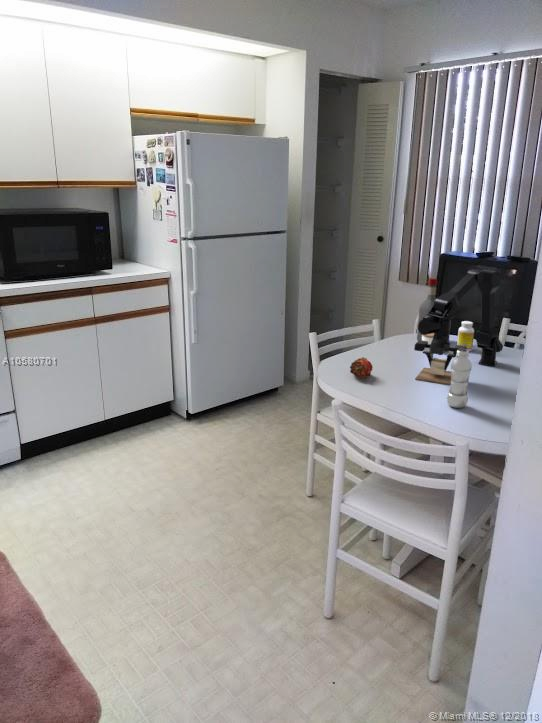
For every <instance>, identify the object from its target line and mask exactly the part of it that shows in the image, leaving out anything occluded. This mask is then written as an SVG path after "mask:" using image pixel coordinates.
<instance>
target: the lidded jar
mask: <svg viewBox="0 0 542 723" xmlns="http://www.w3.org/2000/svg"><path fill="white" fill-rule="evenodd" d="M433 336H434V333H432V334H427V335H422V341H428V344H431V342H432V340H433Z"/></svg>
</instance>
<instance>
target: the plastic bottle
mask: <svg viewBox="0 0 542 723" xmlns="http://www.w3.org/2000/svg"><path fill="white" fill-rule="evenodd" d="M469 356H470V351H468V350H466V349H458V350H457V354H456V357H455V358H454V360H452V362H451V364H450V371H451V385H449V392H448V395H447V397H446V399H447V401H446V402H447V404H448V406H450V407H452V408H455V409H462V408H465V407H466V406H467V404H468V401H469V397H468V388H469V387H468V386H469V385H468V384H469V381H470V380H469V378H470V374H471V371H472V366H473V365H472V363H471V361H470V359H469Z"/></svg>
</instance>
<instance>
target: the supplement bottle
mask: <svg viewBox="0 0 542 723" xmlns="http://www.w3.org/2000/svg"><path fill="white" fill-rule="evenodd" d="M473 325H474V322H472V321H469V320H464V321H463V320H462V321H461V326H460V327H459V328H458V330H457V331H458V332H457V341H456V345H461V346H466V347H467V350H468V351H469V352H471V351H472V350H473V346H474V335H475V328H473Z"/></svg>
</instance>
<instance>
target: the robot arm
mask: <svg viewBox="0 0 542 723" xmlns="http://www.w3.org/2000/svg"><path fill="white" fill-rule="evenodd" d="M501 277H502V276H501V273H500V272H498V271H496V270H489V269H488V270H487V269H481V270H478V269H469V270H468V271H467V273H466V275H464V277H462V278H461V280H459V282H457V283H456V285H455V286H453V287H452V288H451V289H450V290H449V291H447V292H445V293H442V294H441V295H439V296H438V297H437V298H436V300H435V301H434V303H433V305H432V307H431V308H430V310H429V312H428V314H427V315H428V316H424V317H423V320H421V321H420V322H419V324H418V323H417V331H418V330H419V332H420V333H421V334H422V335H427V334H432V333H434V336H433V340H432V342H431V344H428V341H420V340H419V341H418V340H417V342H416V343H414V348H413V350H414V351H417V352H422V354H423V355H425V356H426V358H427V360H428V365H429V367H430V368H431V361H432V360H433V358H434V355H439V356H442V355H444V353H448V354H447V355H446V359H447V360H446V365H445V371H447V369H448V368H449V365H450V363H451V361H452V359H453V358H454V359H455V358H456V357H457V356H456V354H457V350H458V349H466V350H467V347H466V346H461V345H457V344H456V345H455V346H454V347H453V346H452V347H451V342H450V335H451V334H450V333H451V326H452V323H451V322H452V320H453V319H455V318H456V316H455V315H454V314H453V313H454V312H455V311H456V309H457V308H458V307H459V303H460V300H461V299H463V298H464V296H466V294H468V292H469V291H470V290H471V289H473V287H474V286H475V285H477V288H478V289H479V291H480V293H481V309H480V310H481V315H480V316H481V317H480V319H481V320H480V324H481V325H480V328H479V329H477V330H476V332H475V341H476V345H477V348H479V349H481V356H480V360H479V361H478V364H479V365H482V366H483V365H485V366H491V367H495V366H497V362H498V360H496V359H497V358H496V357H497V353H500V352H502V351H503V348H504V345H503V344H502V342H501V341H500V337H499V334H500V333H499V331H498V330H497V328H496V326H495V320H496V319H495V318H496V317H495V316H496V315H495V313H496V311H495V310H496V291H497V290H498V289H499V288H500V283H501ZM435 311H436V312H439V313H436V312H435ZM440 313H442V314H440Z"/></svg>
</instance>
